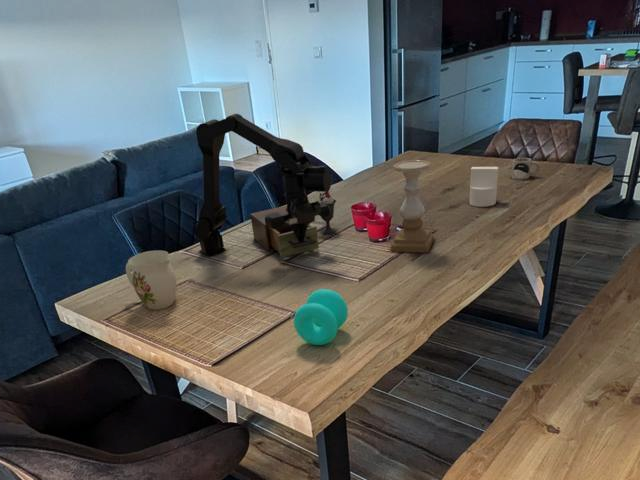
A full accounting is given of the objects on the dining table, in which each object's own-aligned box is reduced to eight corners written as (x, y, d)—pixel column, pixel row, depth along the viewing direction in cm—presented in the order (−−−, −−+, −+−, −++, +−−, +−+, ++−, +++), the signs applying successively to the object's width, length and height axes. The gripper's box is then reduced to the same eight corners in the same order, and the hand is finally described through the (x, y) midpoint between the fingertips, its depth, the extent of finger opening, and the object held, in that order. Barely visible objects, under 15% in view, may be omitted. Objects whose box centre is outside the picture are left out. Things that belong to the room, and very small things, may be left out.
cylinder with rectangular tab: (467, 206, 197) (468, 171, 190) (471, 198, 204) (473, 164, 197) (493, 207, 193) (496, 171, 187) (497, 199, 200) (500, 164, 194)
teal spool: (294, 345, 126) (289, 305, 121) (311, 323, 134) (306, 285, 128) (336, 349, 122) (332, 309, 117) (350, 327, 130) (348, 288, 125)
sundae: (336, 234, 185) (333, 188, 177) (316, 235, 186) (312, 189, 178) (340, 227, 190) (336, 182, 182) (320, 228, 191) (316, 183, 184)
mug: (511, 179, 219) (512, 162, 216) (511, 175, 224) (513, 158, 221) (538, 179, 216) (540, 161, 213) (538, 174, 222) (540, 157, 218)
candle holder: (433, 239, 173) (434, 159, 160) (427, 252, 164) (428, 169, 152) (398, 238, 176) (397, 159, 164) (390, 251, 168) (388, 169, 155)
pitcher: (149, 290, 160) (136, 244, 153) (196, 299, 151) (185, 251, 144) (119, 306, 152) (104, 258, 145) (168, 317, 144) (154, 267, 136)
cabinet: (307, 241, 182) (305, 215, 177) (268, 251, 178) (264, 224, 173) (291, 229, 193) (288, 205, 188) (254, 238, 189) (250, 213, 184)
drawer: (325, 252, 169) (323, 231, 166) (287, 262, 165) (284, 240, 162) (302, 236, 183) (299, 216, 180) (266, 245, 180) (263, 224, 176)
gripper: (274, 204, 151) (282, 259, 159) (337, 190, 156) (341, 243, 164) (260, 195, 159) (268, 247, 168) (320, 182, 165) (325, 233, 173)
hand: (301, 243), depth 168 cm, fingers closed
